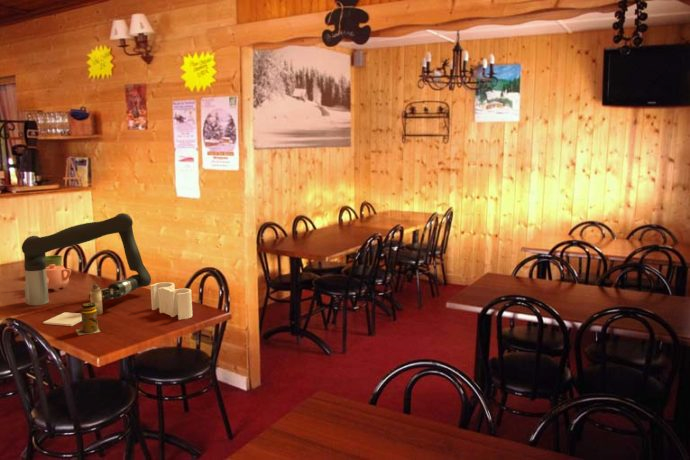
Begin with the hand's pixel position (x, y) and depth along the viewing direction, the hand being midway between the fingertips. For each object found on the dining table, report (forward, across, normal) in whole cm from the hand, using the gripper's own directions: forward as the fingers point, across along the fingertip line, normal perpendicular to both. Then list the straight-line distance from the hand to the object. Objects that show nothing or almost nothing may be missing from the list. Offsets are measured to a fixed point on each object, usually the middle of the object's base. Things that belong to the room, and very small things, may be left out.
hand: (97, 297), depth 265 cm
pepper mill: (+1, 0, +8) cm, 8 cm away
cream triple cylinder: (-12, +33, +8) cm, 36 cm away
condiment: (+22, +13, +8) cm, 26 cm away
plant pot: (-50, -72, +8) cm, 88 cm away
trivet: (+12, -6, +8) cm, 16 cm away
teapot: (-26, -51, +8) cm, 58 cm away
